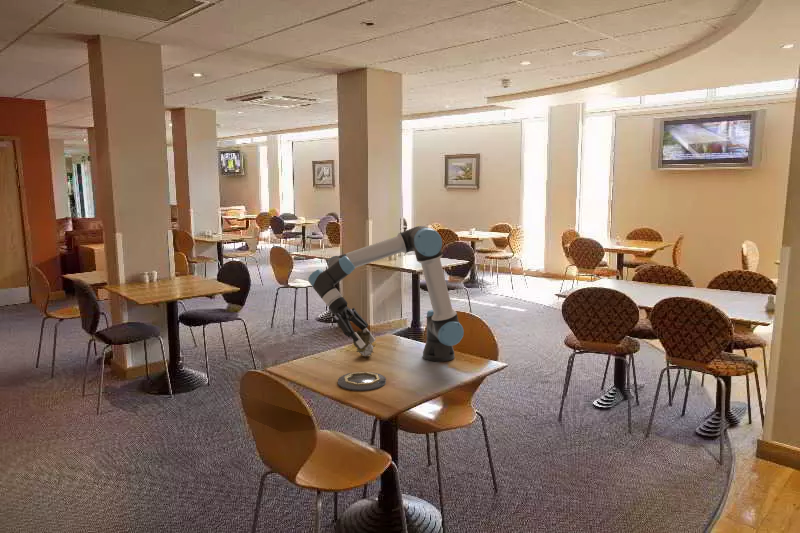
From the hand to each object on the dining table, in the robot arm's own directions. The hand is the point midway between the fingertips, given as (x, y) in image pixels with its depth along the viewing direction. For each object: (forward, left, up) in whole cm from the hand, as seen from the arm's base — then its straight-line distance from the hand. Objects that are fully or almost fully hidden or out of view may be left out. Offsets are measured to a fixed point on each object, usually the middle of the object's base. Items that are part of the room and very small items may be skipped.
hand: (368, 344), depth 241 cm
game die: (-4, -37, -17) cm, 41 cm away
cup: (+3, -2, -4) cm, 5 cm away
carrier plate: (+3, -2, -17) cm, 17 cm away
